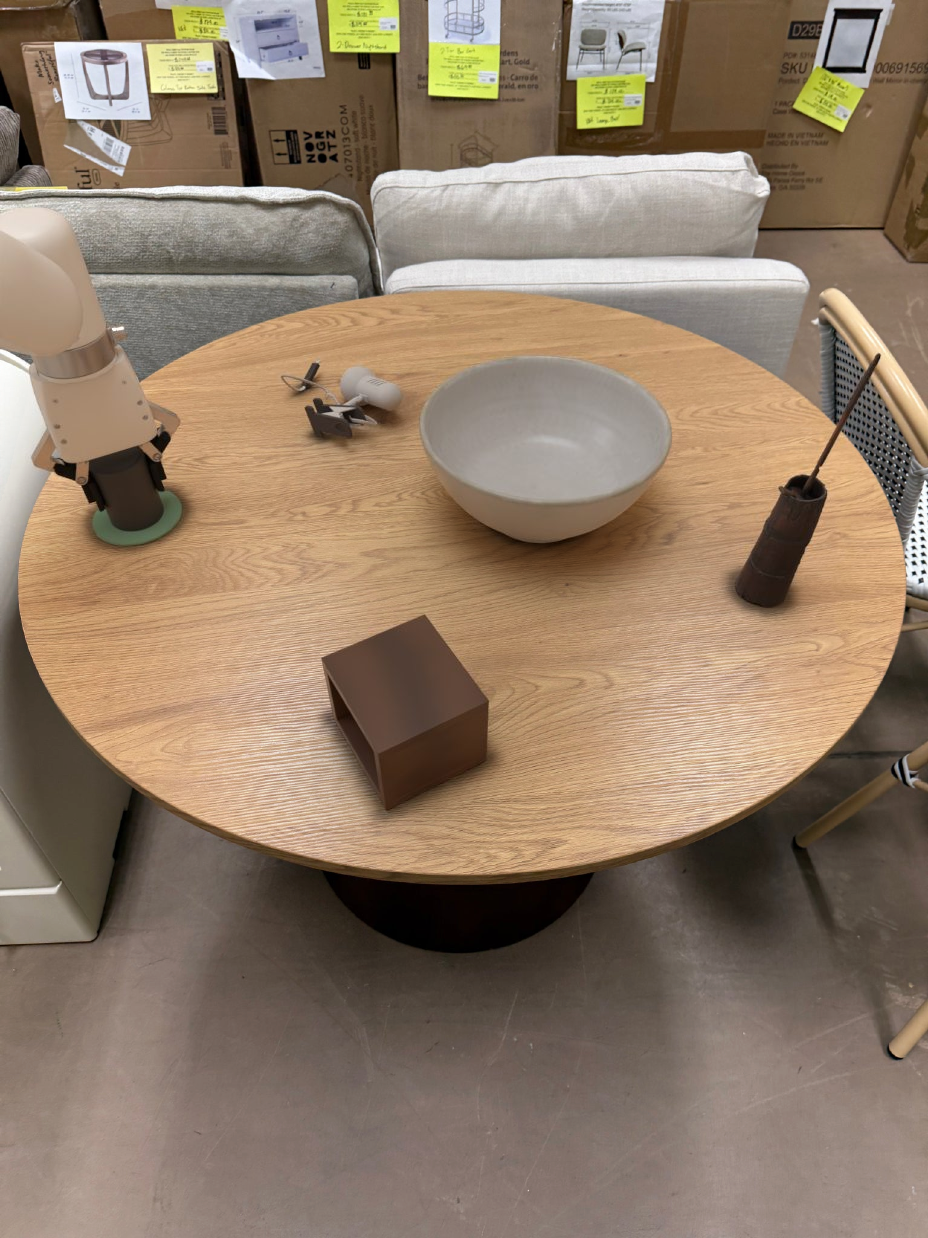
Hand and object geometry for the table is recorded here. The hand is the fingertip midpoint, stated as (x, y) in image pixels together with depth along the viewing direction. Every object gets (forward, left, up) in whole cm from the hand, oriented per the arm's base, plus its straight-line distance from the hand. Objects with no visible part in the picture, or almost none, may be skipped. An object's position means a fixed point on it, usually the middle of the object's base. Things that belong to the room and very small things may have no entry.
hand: (129, 493), depth 92 cm
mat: (0, 0, -3) cm, 3 cm away
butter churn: (+53, -45, -4) cm, 70 cm away
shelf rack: (+13, -43, -3) cm, 45 cm away
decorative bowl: (+41, -22, -4) cm, 47 cm away
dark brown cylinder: (0, 0, -3) cm, 3 cm away
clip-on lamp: (+29, +8, -4) cm, 30 cm away
